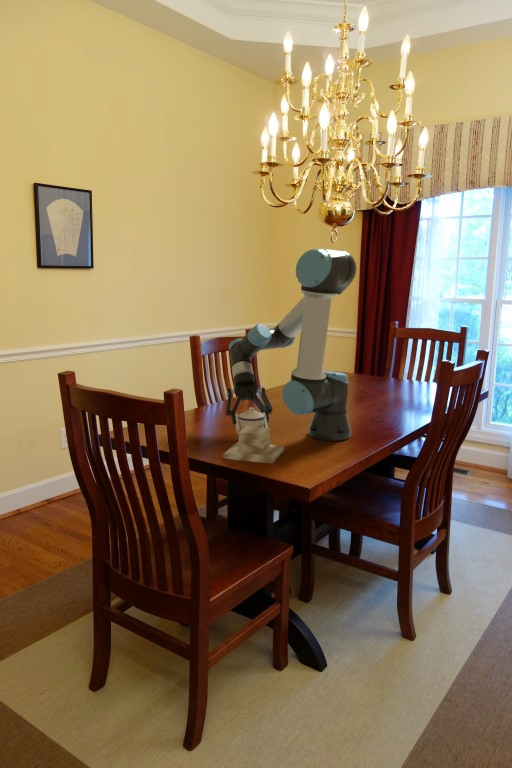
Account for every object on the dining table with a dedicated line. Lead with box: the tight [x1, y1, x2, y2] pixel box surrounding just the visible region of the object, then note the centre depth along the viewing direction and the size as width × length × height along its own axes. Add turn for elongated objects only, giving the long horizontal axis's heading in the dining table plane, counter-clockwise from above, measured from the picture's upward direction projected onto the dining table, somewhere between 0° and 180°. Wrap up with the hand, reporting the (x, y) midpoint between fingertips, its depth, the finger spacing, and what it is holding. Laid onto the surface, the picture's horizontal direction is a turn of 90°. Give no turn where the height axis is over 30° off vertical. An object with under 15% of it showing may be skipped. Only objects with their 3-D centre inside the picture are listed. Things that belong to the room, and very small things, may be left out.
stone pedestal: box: [222, 426, 285, 465], centre depth 185 cm, size 16×14×8 cm
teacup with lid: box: [238, 406, 265, 431], centre depth 201 cm, size 12×9×12 cm
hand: (252, 431), depth 199 cm, fingers closed on teacup with lid, 9 cm apart
